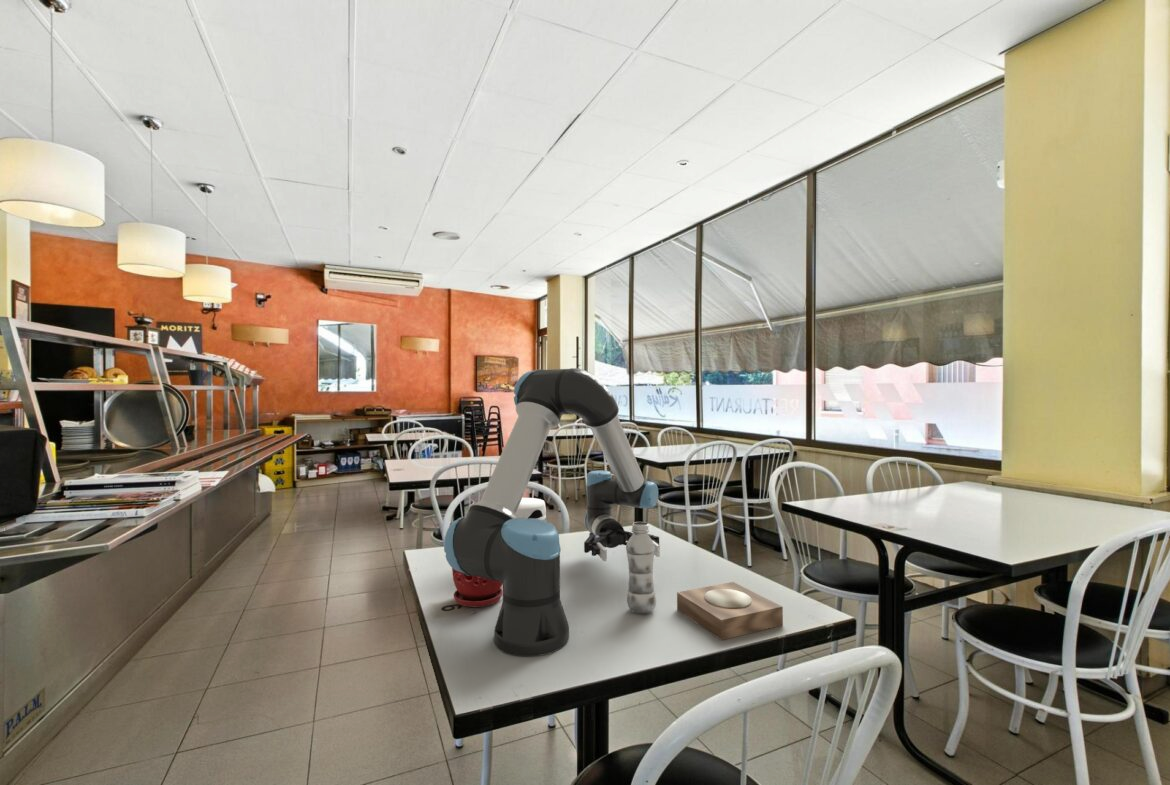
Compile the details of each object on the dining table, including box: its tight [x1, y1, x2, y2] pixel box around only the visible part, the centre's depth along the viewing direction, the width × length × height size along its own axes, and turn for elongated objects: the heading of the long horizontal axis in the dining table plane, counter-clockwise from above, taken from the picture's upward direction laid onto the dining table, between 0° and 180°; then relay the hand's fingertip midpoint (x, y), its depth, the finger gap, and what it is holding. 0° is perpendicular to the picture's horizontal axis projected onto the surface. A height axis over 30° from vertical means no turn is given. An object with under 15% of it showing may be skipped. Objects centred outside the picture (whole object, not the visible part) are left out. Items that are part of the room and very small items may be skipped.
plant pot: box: [451, 567, 503, 608], centre depth 124 cm, size 13×13×12 cm
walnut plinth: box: [676, 581, 784, 641], centre depth 113 cm, size 16×16×4 cm
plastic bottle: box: [625, 521, 657, 615], centre depth 117 cm, size 6×7×20 cm
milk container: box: [515, 497, 547, 522], centre depth 152 cm, size 17×17×18 cm
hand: (632, 553), depth 124 cm, fingers open, 13 cm apart
